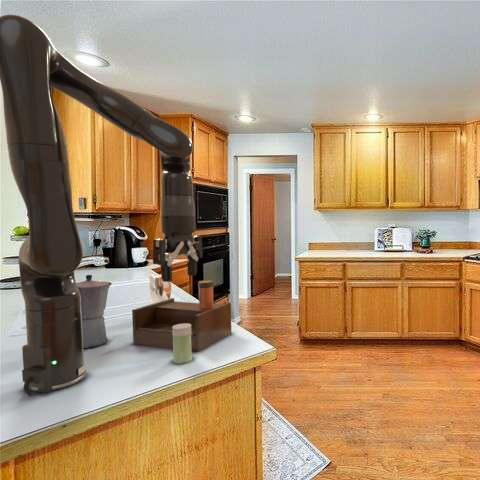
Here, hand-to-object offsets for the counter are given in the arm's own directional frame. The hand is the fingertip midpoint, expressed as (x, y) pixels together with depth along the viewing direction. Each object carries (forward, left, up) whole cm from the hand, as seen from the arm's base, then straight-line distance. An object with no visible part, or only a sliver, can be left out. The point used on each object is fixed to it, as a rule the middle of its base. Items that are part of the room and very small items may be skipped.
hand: (180, 278), depth 89 cm
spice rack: (+13, +11, -21) cm, 27 cm away
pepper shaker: (+17, +6, -12) cm, 22 cm away
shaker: (0, 0, -21) cm, 21 cm away
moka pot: (+2, +34, -22) cm, 40 cm away
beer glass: (+31, +36, -22) cm, 52 cm away
